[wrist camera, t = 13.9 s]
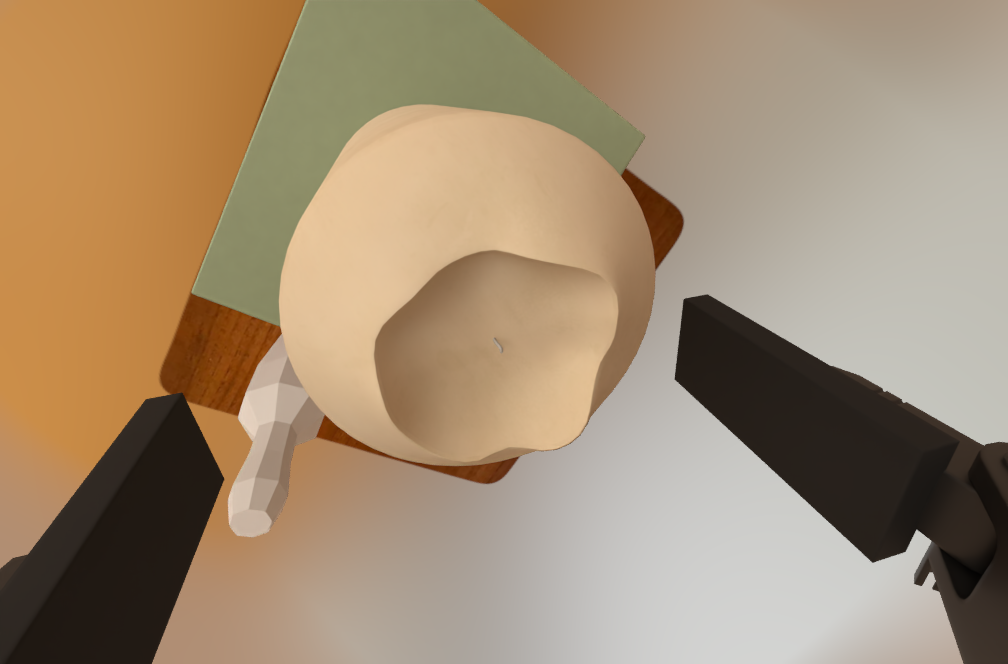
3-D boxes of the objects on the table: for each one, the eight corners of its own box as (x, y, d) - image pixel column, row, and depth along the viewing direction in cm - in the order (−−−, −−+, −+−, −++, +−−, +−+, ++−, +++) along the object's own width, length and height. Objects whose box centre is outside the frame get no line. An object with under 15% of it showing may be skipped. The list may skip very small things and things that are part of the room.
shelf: (366, 38, 37) (347, -105, 11) (473, 111, 41) (647, 136, 15) (310, 165, 40) (190, 294, 14) (416, 221, 44) (477, 400, 18)
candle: (446, 60, 13) (606, -22, 4) (544, 223, 15) (765, 386, 7) (288, 181, 13) (114, 350, 4) (411, 319, 16) (457, 592, 7)
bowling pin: (269, 377, 47) (198, 567, 28) (263, 320, 44) (180, 488, 25) (335, 376, 49) (311, 553, 30) (333, 321, 46) (304, 478, 27)
